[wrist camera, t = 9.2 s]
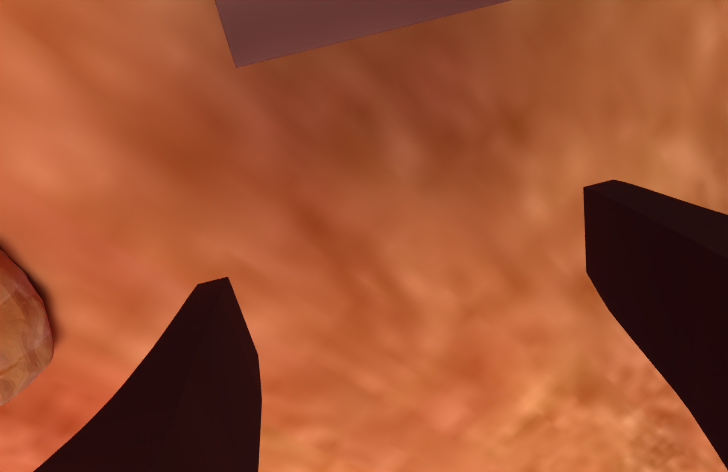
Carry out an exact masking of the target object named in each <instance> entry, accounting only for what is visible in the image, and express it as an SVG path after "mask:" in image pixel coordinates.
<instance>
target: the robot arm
mask: <svg viewBox="0 0 728 472" xmlns="http://www.w3.org/2000/svg"><path fill="white" fill-rule="evenodd" d="M583 189H584V218H585V247H586V272H587V274H588V276H589V277H590V279H591V281H592V283H593V284H594V286H595V288H596V290H597V291H598V293H599V295H600V296H601V298H602V300H603V301H604V303H605V305H606V306H607V308H608V309H609V311H610V312H611V313H612V315H613V316H614V317H615V319H616V320H617V321H618V322H619V324H620V325H621V326H622V327H623V328H624V330H625V331H626V332H627V333H628V335H629V336H630V337H631V338H632V340H633V341H634V342H635V343H636V344H637V346H638V347H639V348H640V349H641V351H642V352H643V353H644V354H645V355H646V357H647V358H648V359H649V360H650V361H651V363H652V364H653V365H654V366H655V368H656V369H657V370H658V371H659V372H660V374H661V375H662V376H663V377H664V378H665V380H666V381H667V382H668V383H669V385H670V386H671V387H672V388H673V389H674V391H675V392H676V393H677V395H678V396H679V397H680V399H681V400H682V401H683V403H684V404H685V405H686V407H687V408H688V409H689V411H690V412H691V414H692V415H693V417H694V418H695V420H696V421H697V423H698V424H699V426H700V427H701V429H702V430H703V432H704V434H705V435H706V437H707V438H708V440H709V441H710V443H711V444H712V446H713V447H714V449H715V450H716V452H717V454H718V455H719V457H720V458H721V460H722V462H723V463H724V465H725V467H726V468H727V470H728V215H726V214H723V213H720V212H716V211H713V210H710V209H707V208H703V207H700V206H697V205H694V204H691V203H688V202H685V201H682V200H679V199H676V198H673V197H670V196H667V195H664V194H661V193H658V192H655V191H652V190H648V189H645V188H642V187H639V186H636V185H633V184H629V183H626V182H622V181H617V180H610V181H606V182H602V183H598V184H594V185H590V186H586V187H583ZM261 407H262V395H261V381H260V370H259V360H258V354H257V351H256V349H255V346H254V343H253V341H252V338H251V336H250V333H249V330H248V328H247V325H246V322H245V320H244V317H243V315H242V312H241V309H240V307H239V304H238V302H237V299H236V296H235V294H234V291H233V288H232V286H231V283H230V281H229V278H228V277H225V278H221V279H217V280H213V281H209V282H205V283H201V284H198V285H197V286H196V287H195V289H194V290H193V291H192V293H191V294H190V296H189V297H188V298H187V300H186V301H185V303H184V304H183V306H182V307H181V309H180V310H179V312H178V313H177V314H176V316H175V317H174V319H173V320H172V322H171V323H170V324H169V326H168V327H167V329H166V330H165V331H164V333H163V334H162V336H161V337H160V338H159V340H158V341H157V343H156V344H155V345H154V347H153V348H152V349H151V351H150V352H149V353H148V354H147V356H146V357H145V358H144V359H143V361H142V362H141V363H140V364H139V366H138V367H137V368H136V369H135V371H134V372H133V373H132V374H131V376H130V377H129V378H128V379H127V381H126V382H125V383H124V384H123V386H122V387H121V388H120V389H119V390H118V391H117V392H116V394H115V395H114V396H113V397H112V398H111V399H110V400H109V401H108V402H107V403H106V404H105V406H104V407H103V408H102V409H101V410H100V411H99V412H98V413H97V414H96V415H95V416H94V417H93V418H92V419H91V420H90V421H89V422H88V423H87V424H86V425H85V426H84V427H83V428H82V429H81V430H80V431H79V432H78V433H76V434H75V435H74V436H73V437H72V438H71V439H70V440H69V441H68V442H66V443H65V444H64V445H63V446H62V447H61V448H60V449H59V450H57V451H56V452H55V453H54V454H53V455H52V456H51V457H50V458H48V459H47V460H46V461H45V462H44V463H43V464H42V465H41V466H39V467H38V468H37V469H36V470H35V471H33V472H258V464H259V446H260V428H261Z"/></svg>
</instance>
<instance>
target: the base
mask: <svg viewBox="0 0 728 472" xmlns="http://www.w3.org/2000/svg"><path fill="white" fill-rule="evenodd" d="M506 1H510V0H215V3H216V6H217V9H218V12H219V16H220V19H221V22H222V25H223V28H224V32H225V35H226V38H227V41H228V44H229V48H230V51H231V54H232V57H233V60H234V64H235V67H236V68H238V67H242V66H246V65H250V64H254V63H258V62H262V61H266V60H270V59H274V58H278V57H282V56H286V55H290V54H294V53H299V52H303V51H307V50H311V49H315V48H319V47H323V46H327V45H331V44H335V43H339V42H343V41H347V40H351V39H355V38H359V37H364V36H368V35H372V34H376V33H380V32H384V31H388V30H392V29H396V28H400V27H404V26H408V25H412V24H416V23H420V22H424V21H429V20H433V19H437V18H441V17H445V16H449V15H453V14H457V13H461V12H465V11H469V10H473V9H477V8H481V7H485V6H489V5H494V4H498V3H502V2H506Z"/></svg>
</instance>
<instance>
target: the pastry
mask: <svg viewBox="0 0 728 472" xmlns="http://www.w3.org/2000/svg"><path fill="white" fill-rule="evenodd" d="M53 354H54V345H53V338H52V334H51V330H50V326H49V322H48V318H47V314H46V311H45V307H44V304H43V299H41V298H40V296H39V295H38V294H37V292H36V291H35V289H34V288H33V286H32V285H31V283H30V282H29V280H28V277H27V275H26V274H25V273H24V272H23V271H22V270H21V269H20V268H19V267H18V266H17V265H16V264H15V263H13V262H12V261H11V260H10V259H9V257H8V256H7V255H6V253H4V252H3V251H2V250H0V406H1V405H3V404H5V403H6V402H7V401H9V400H10V399H12V398H13V397H14V396H16V395H17V394H18V393H19V392H21V391H22V390H23V389H24V388H26V387H27V386H28V385H29V384H30V383H31V382H32V381H33V380H34V379H35V378H36V377H37V376H38V375H39V374H40V373H41V372H42V371H43V370H44V369H45V367H46V366H47V365H48V364H49V363H50V362H51V360H52V358H53Z"/></svg>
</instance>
